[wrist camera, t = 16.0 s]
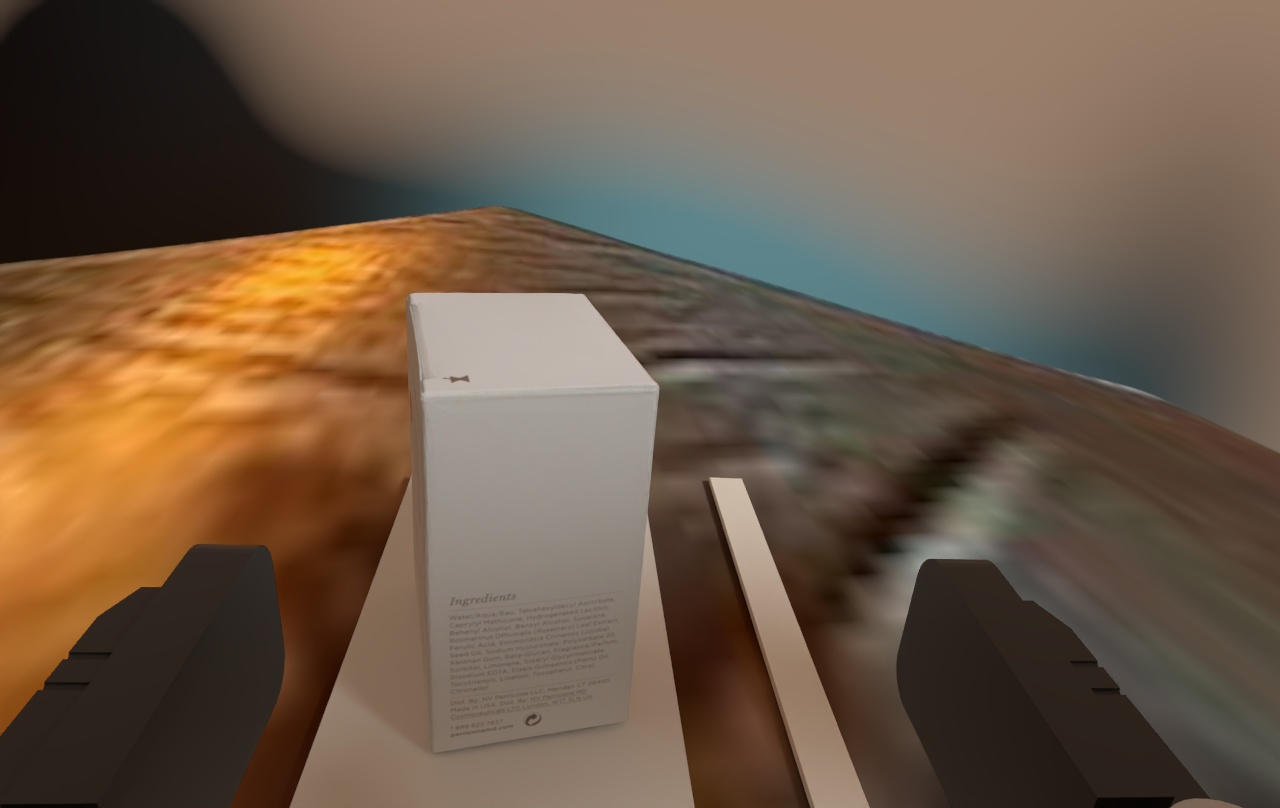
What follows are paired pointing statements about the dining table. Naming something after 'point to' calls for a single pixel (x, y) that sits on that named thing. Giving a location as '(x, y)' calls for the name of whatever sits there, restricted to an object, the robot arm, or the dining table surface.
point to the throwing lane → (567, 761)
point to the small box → (525, 512)
